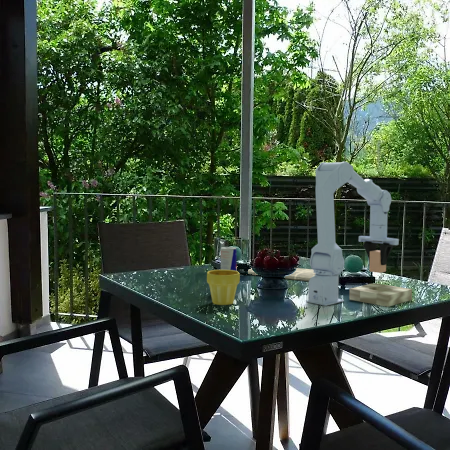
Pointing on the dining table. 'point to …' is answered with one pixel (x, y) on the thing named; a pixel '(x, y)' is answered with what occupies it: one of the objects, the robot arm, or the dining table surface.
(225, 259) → the beverage can
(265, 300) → the dining table surface
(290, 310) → the dining table surface
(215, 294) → the plant pot
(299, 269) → the newspaper
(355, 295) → the socket block
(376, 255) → the peg
